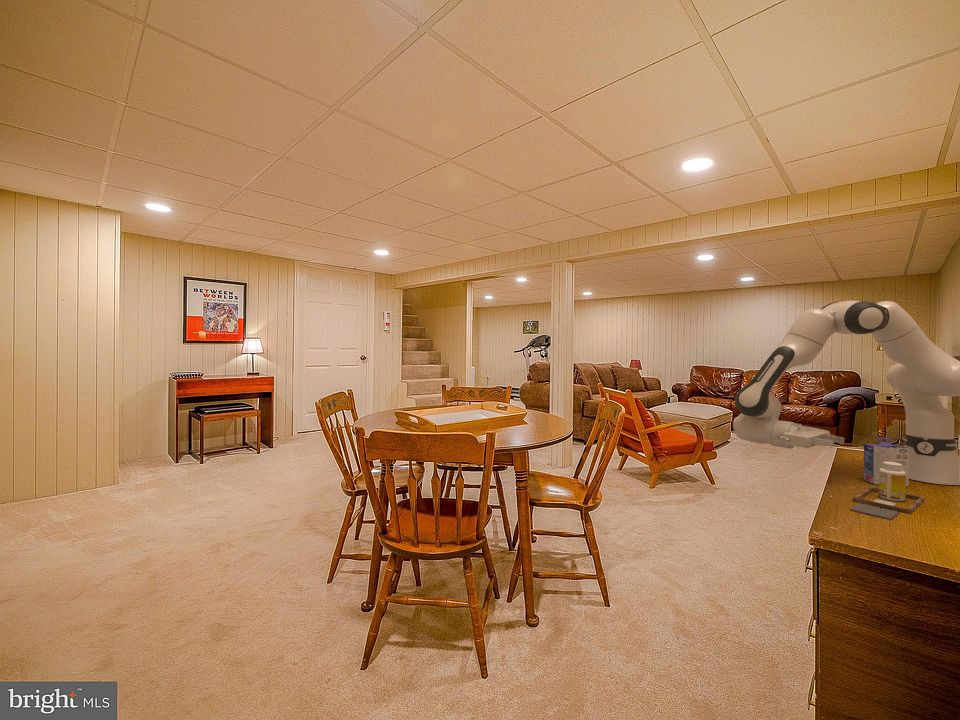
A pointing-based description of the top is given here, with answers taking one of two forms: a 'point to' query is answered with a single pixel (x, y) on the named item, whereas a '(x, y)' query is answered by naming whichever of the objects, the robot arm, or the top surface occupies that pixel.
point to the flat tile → (885, 502)
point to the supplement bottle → (892, 482)
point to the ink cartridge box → (884, 459)
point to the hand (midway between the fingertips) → (838, 442)
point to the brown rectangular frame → (895, 508)
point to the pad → (874, 511)
